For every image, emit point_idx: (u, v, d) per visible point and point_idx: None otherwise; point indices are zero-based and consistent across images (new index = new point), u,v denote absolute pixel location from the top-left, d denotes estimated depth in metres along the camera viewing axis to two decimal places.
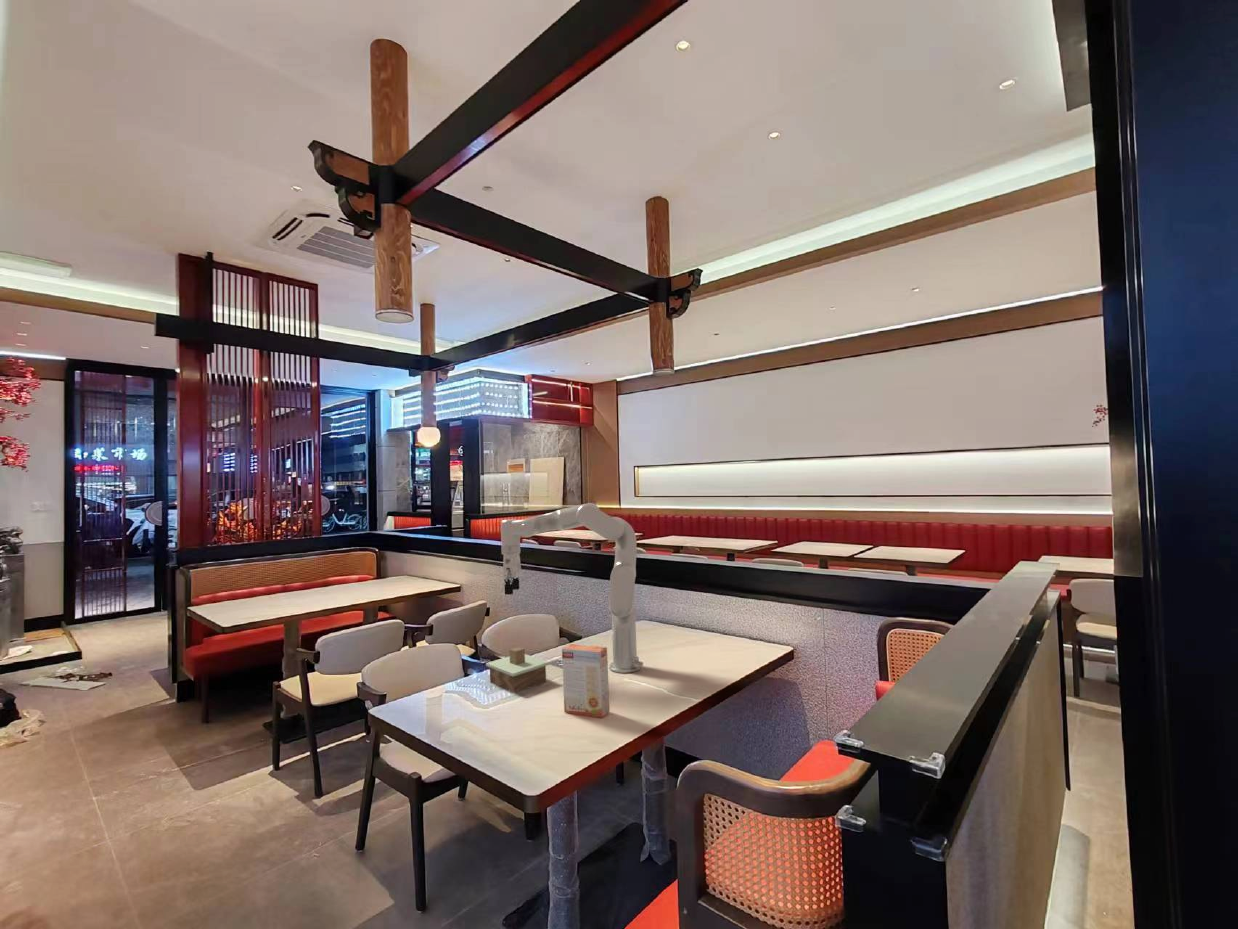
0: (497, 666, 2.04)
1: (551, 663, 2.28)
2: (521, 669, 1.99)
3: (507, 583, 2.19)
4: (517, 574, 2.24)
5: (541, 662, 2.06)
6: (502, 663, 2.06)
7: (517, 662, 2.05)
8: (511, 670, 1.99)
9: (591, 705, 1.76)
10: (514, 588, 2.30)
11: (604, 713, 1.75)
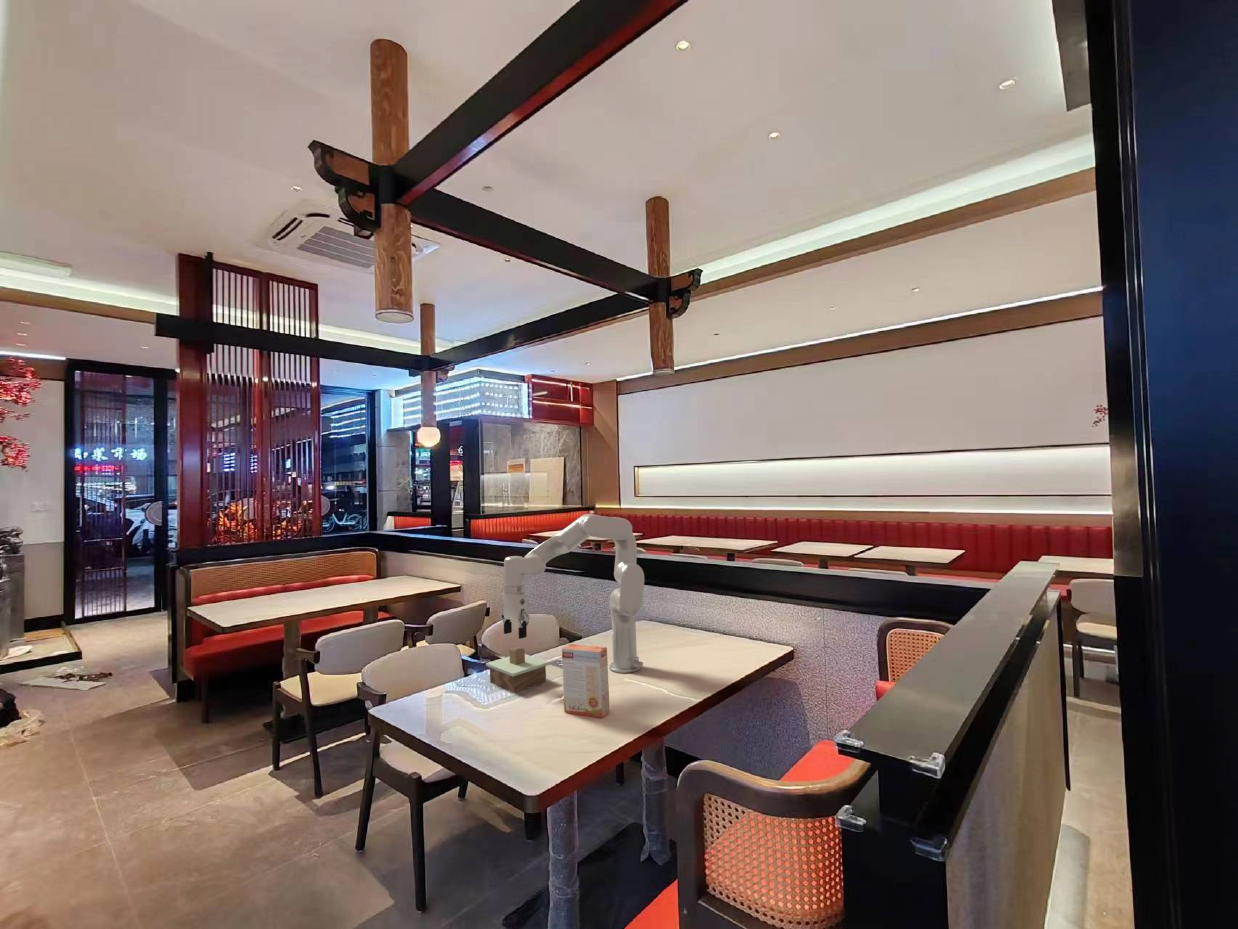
0: (497, 666, 2.04)
1: (551, 663, 2.28)
2: (521, 669, 1.99)
3: (524, 626, 2.03)
4: None
5: (541, 662, 2.06)
6: (502, 663, 2.06)
7: (517, 662, 2.05)
8: (511, 670, 1.99)
9: (591, 705, 1.75)
10: (507, 632, 2.11)
11: (604, 713, 1.75)
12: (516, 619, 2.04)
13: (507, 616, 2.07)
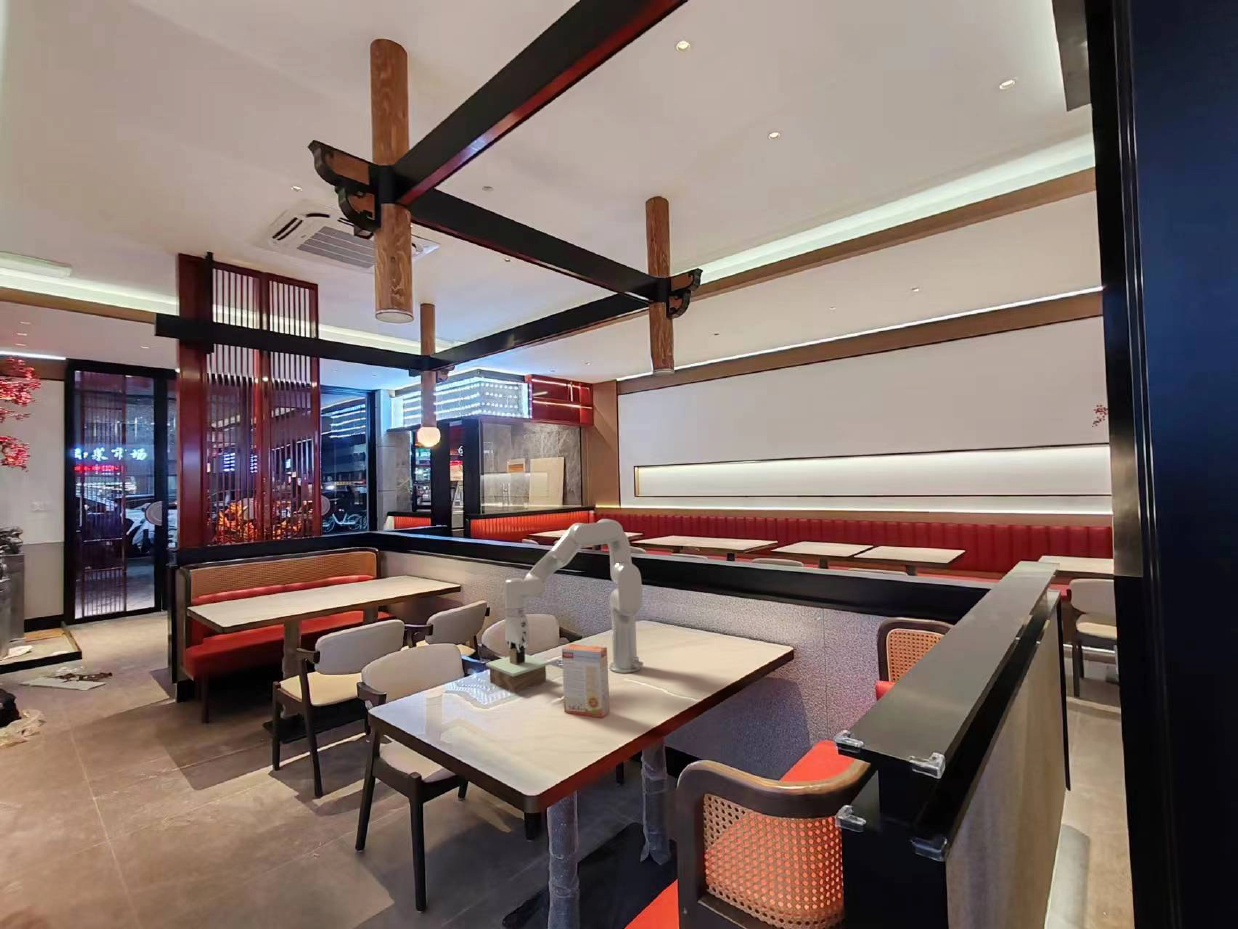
0: (497, 666, 2.04)
1: (551, 663, 2.28)
2: (521, 669, 1.99)
3: (522, 650, 2.05)
4: None
5: (541, 662, 2.06)
6: (502, 663, 2.06)
7: None
8: (511, 670, 1.99)
9: (591, 705, 1.75)
10: None
11: (604, 713, 1.75)
12: (518, 642, 2.03)
13: (509, 638, 2.07)
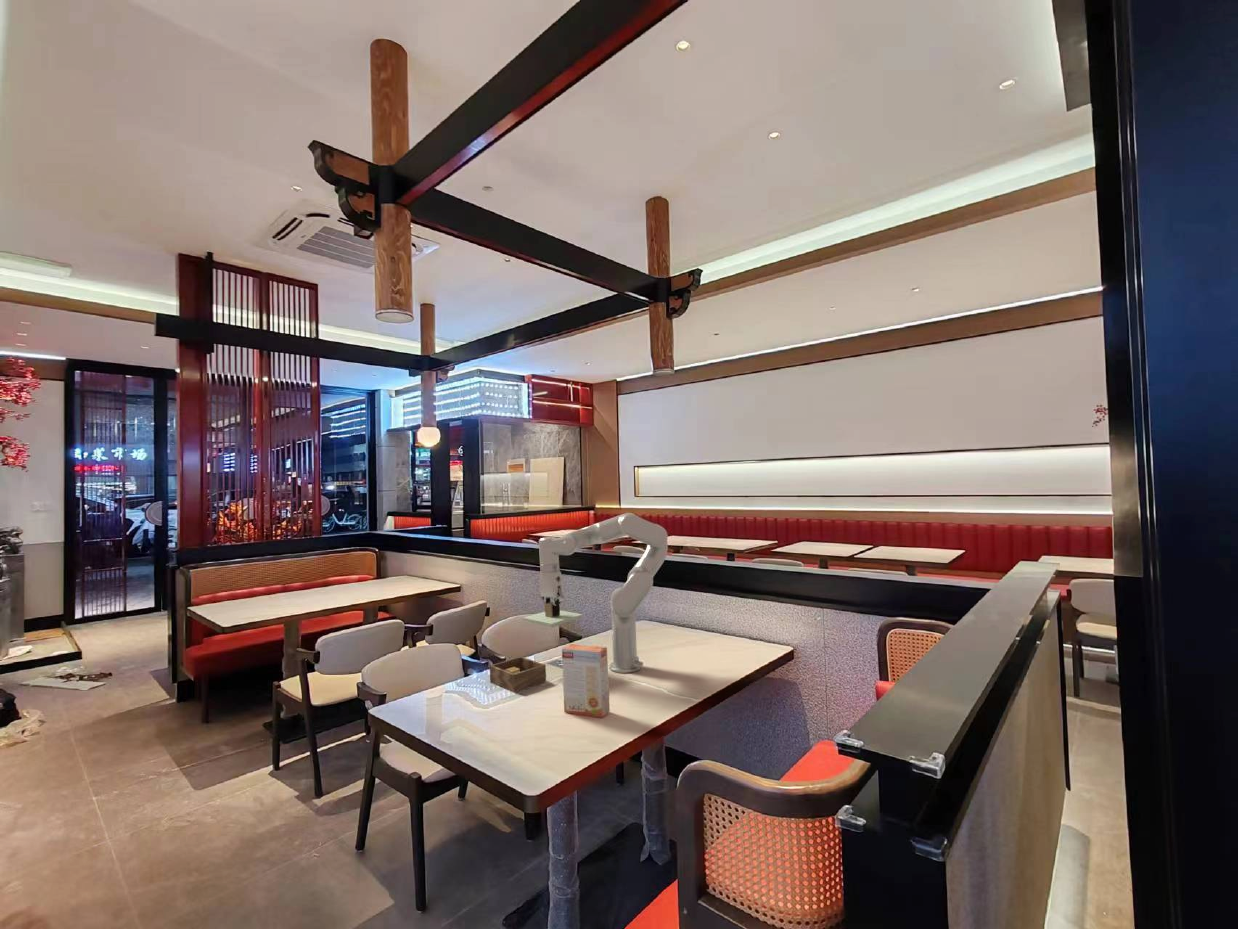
0: (534, 619, 2.16)
1: (551, 663, 2.28)
2: (558, 620, 2.12)
3: (558, 604, 2.17)
4: None
5: (575, 615, 2.19)
6: (539, 617, 2.19)
7: None
8: (549, 621, 2.11)
9: (591, 705, 1.76)
10: None
11: (604, 713, 1.75)
12: (553, 596, 2.16)
13: (544, 594, 2.19)
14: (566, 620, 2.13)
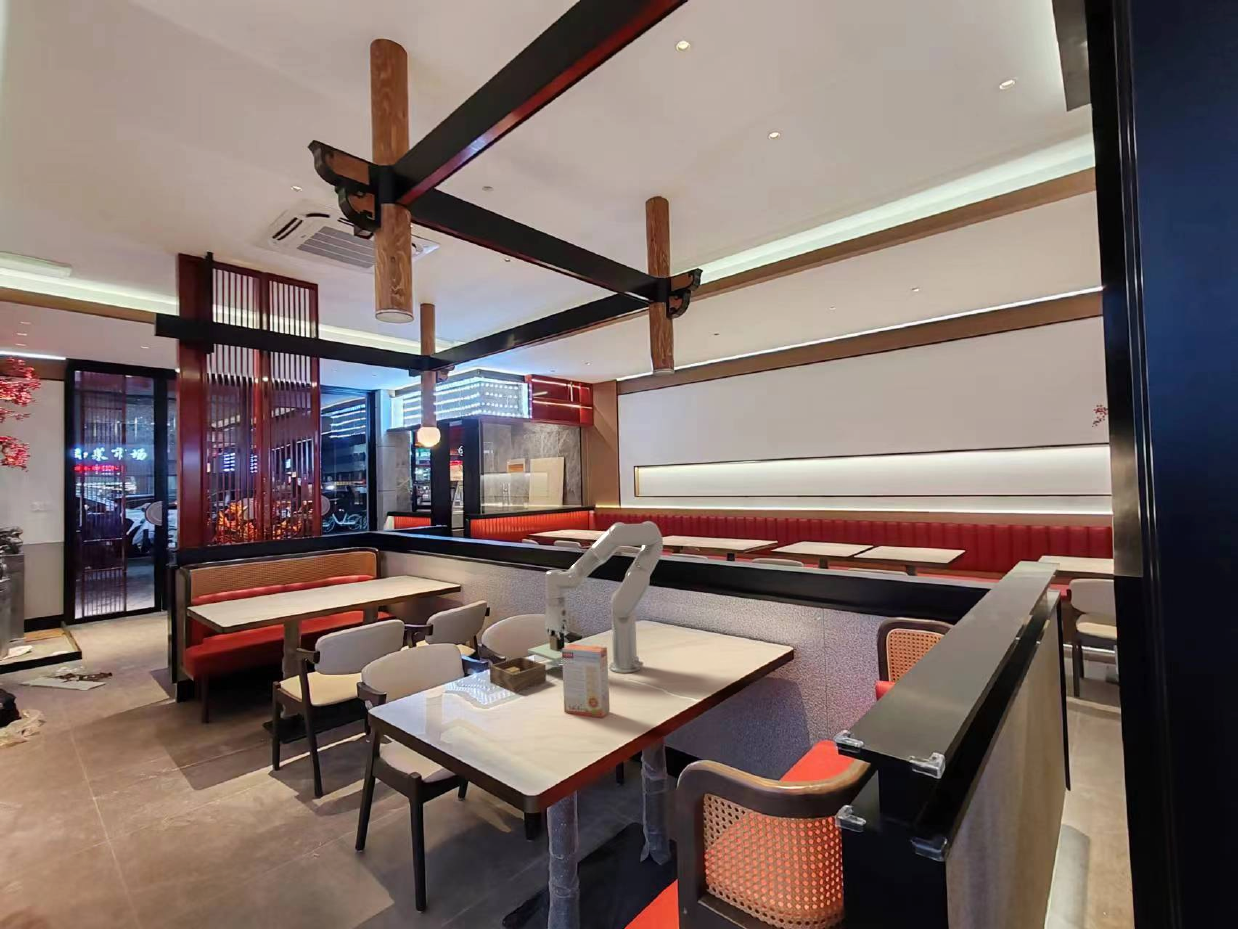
0: (539, 652, 2.17)
1: (551, 663, 2.28)
2: None
3: (562, 637, 2.18)
4: None
5: None
6: (543, 650, 2.20)
7: None
8: (553, 655, 2.12)
9: (591, 705, 1.75)
10: None
11: (604, 713, 1.75)
12: (558, 629, 2.17)
13: (549, 626, 2.21)
14: None
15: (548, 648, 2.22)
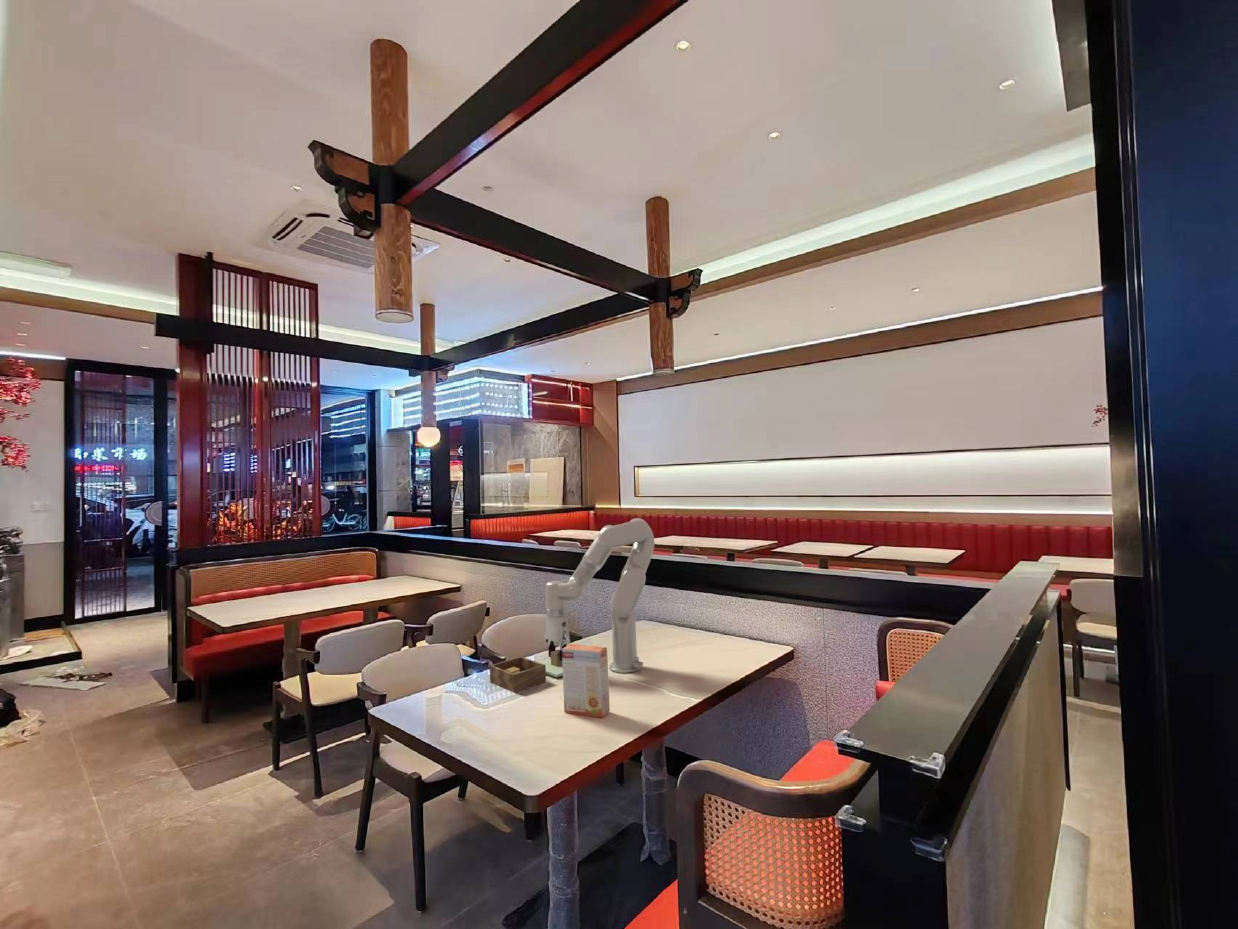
0: None
1: None
2: None
3: None
4: None
5: None
6: None
7: (558, 664, 2.18)
8: (554, 671, 2.12)
9: (591, 705, 1.75)
10: None
11: (604, 713, 1.75)
12: (559, 641, 2.17)
13: (550, 638, 2.21)
14: None
15: (549, 663, 2.22)
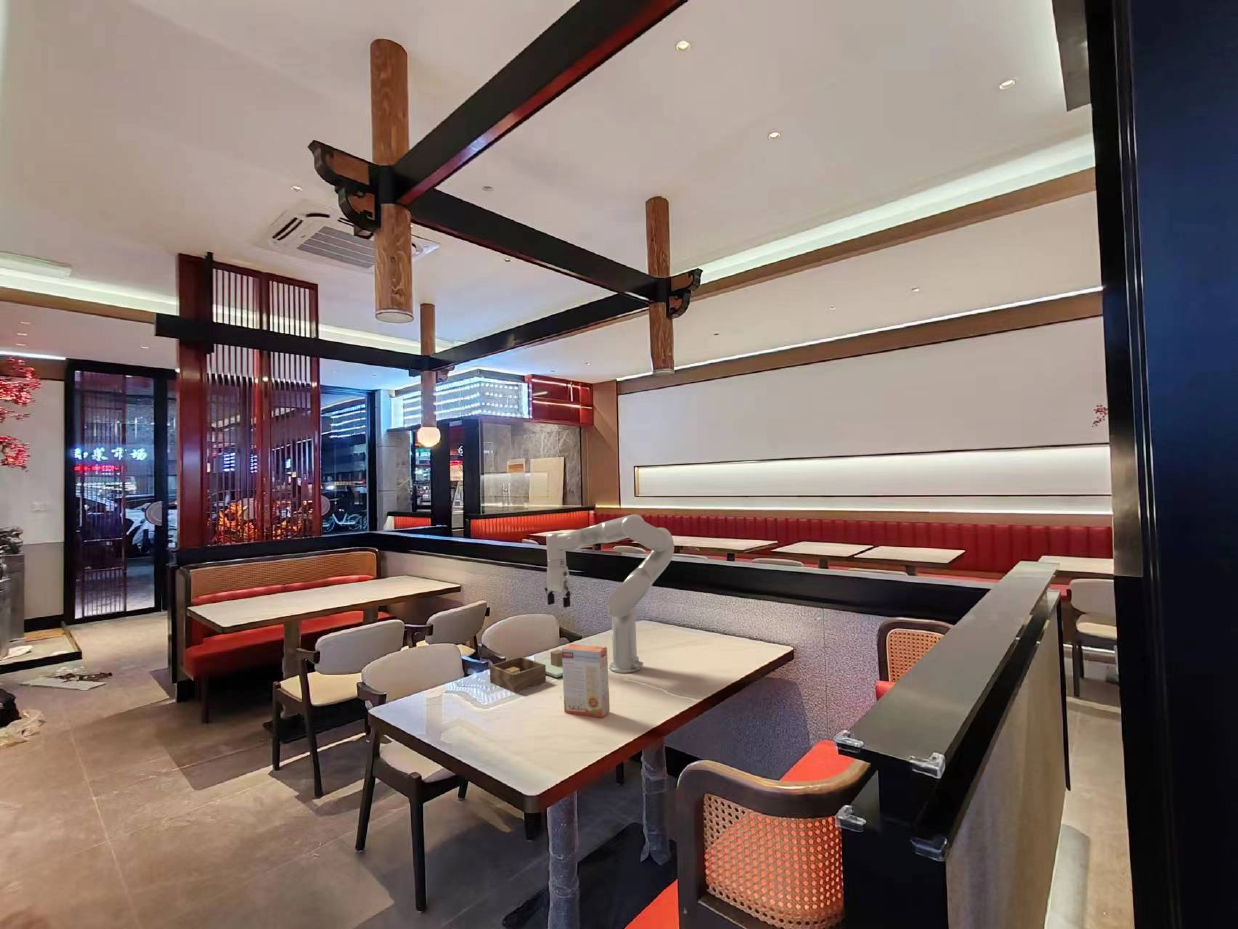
0: None
1: None
2: None
3: (568, 595, 2.21)
4: None
5: None
6: None
7: (558, 664, 2.18)
8: (554, 671, 2.12)
9: (591, 705, 1.76)
10: (551, 603, 2.28)
11: (604, 713, 1.75)
12: (560, 590, 2.21)
13: (551, 588, 2.25)
14: None
15: (549, 663, 2.22)
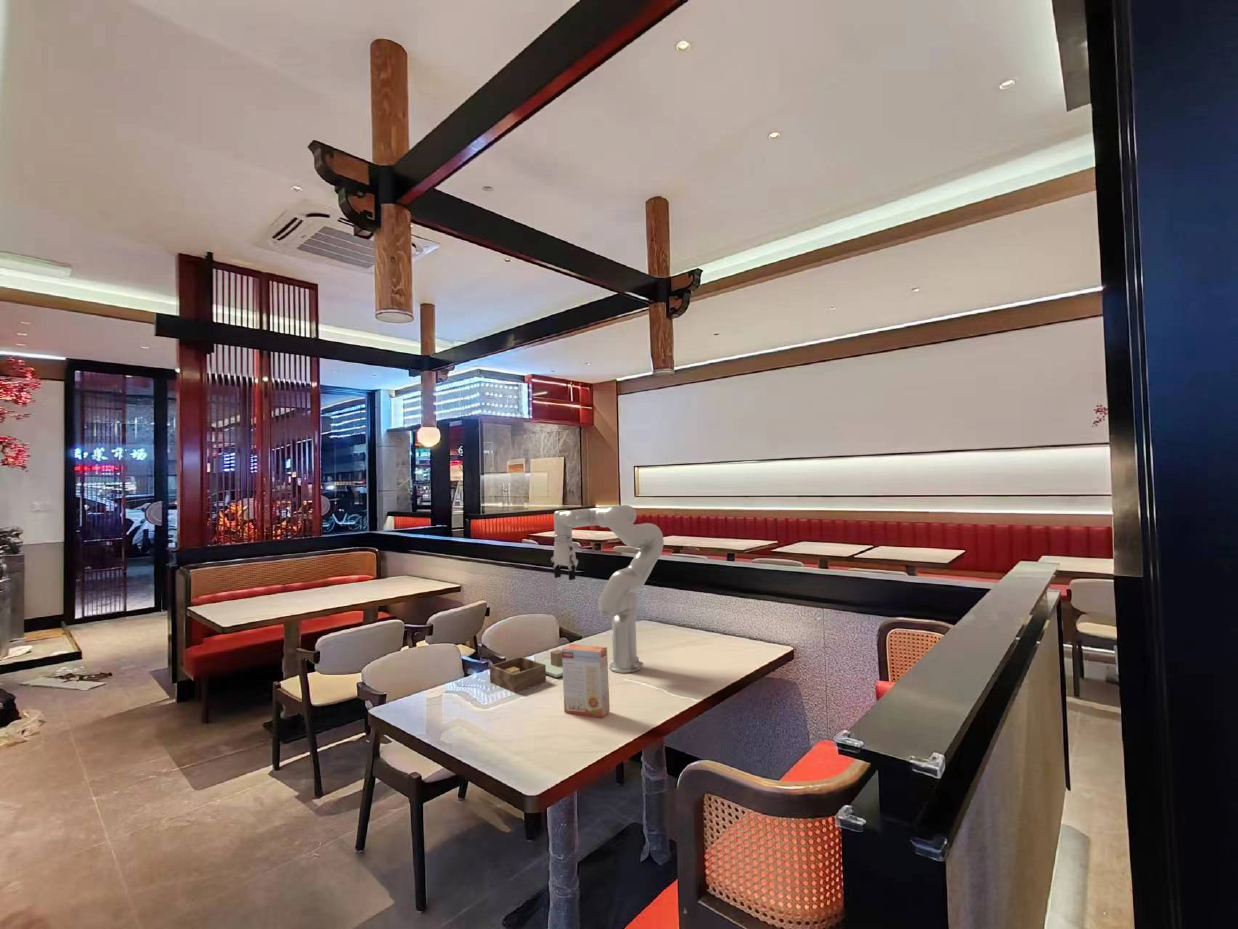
0: None
1: None
2: None
3: (573, 569, 2.35)
4: None
5: None
6: None
7: (558, 664, 2.18)
8: (554, 671, 2.12)
9: (591, 705, 1.76)
10: (557, 576, 2.42)
11: (604, 713, 1.75)
12: (566, 563, 2.35)
13: (557, 562, 2.39)
14: None
15: (549, 663, 2.22)
